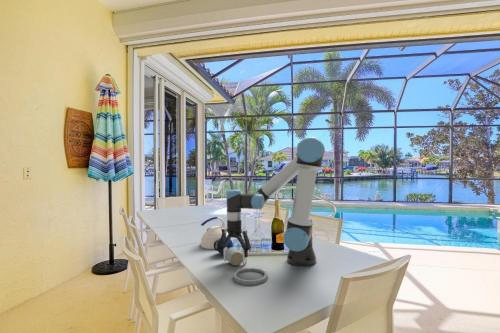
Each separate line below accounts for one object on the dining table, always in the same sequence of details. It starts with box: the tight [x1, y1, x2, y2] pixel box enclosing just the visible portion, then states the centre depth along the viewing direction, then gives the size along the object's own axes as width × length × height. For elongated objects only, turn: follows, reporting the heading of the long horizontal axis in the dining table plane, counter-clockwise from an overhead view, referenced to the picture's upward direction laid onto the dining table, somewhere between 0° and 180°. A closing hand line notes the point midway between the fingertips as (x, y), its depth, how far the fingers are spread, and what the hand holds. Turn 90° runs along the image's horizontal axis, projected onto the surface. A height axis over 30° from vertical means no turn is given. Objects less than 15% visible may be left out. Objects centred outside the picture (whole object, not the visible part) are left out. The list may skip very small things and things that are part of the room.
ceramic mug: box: [225, 246, 248, 266], centre depth 145 cm, size 11×8×8 cm
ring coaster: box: [232, 267, 269, 286], centre depth 127 cm, size 16×16×2 cm
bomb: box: [213, 228, 234, 255], centre depth 160 cm, size 10×11×15 cm
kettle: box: [200, 216, 233, 250], centre depth 180 cm, size 20×21×18 cm
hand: (235, 261), depth 145 cm, fingers closed on ceramic mug, 10 cm apart
